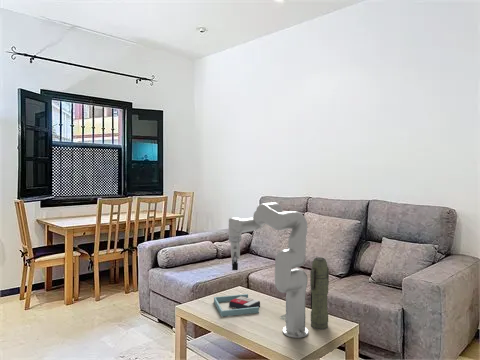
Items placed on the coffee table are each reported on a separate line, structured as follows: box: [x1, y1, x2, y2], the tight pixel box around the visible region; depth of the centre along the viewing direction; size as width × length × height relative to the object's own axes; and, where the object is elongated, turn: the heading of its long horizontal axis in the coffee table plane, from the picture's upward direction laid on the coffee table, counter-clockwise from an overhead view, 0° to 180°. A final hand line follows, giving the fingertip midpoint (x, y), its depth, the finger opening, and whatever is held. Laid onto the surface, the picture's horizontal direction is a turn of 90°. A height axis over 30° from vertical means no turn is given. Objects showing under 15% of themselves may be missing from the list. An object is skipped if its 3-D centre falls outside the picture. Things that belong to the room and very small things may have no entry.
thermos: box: [309, 256, 330, 330], centre depth 192 cm, size 9×12×35 cm
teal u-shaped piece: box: [213, 293, 260, 317], centre depth 219 cm, size 23×21×3 cm
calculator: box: [228, 296, 261, 309], centre depth 220 cm, size 11×4×15 cm
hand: (234, 267), depth 219 cm, fingers open, 9 cm apart
